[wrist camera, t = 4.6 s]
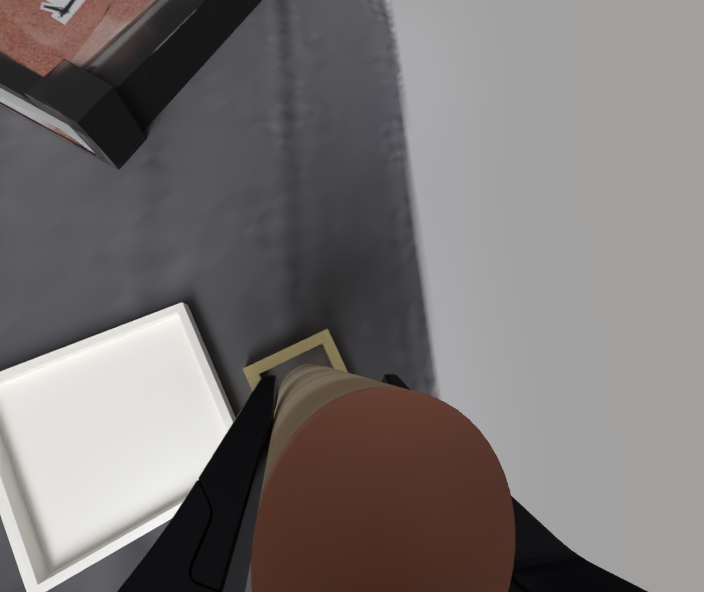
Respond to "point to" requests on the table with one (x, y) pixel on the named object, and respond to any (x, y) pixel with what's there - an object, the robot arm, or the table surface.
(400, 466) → the pin
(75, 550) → the tray
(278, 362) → the pin socket
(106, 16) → the book
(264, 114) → the table surface
